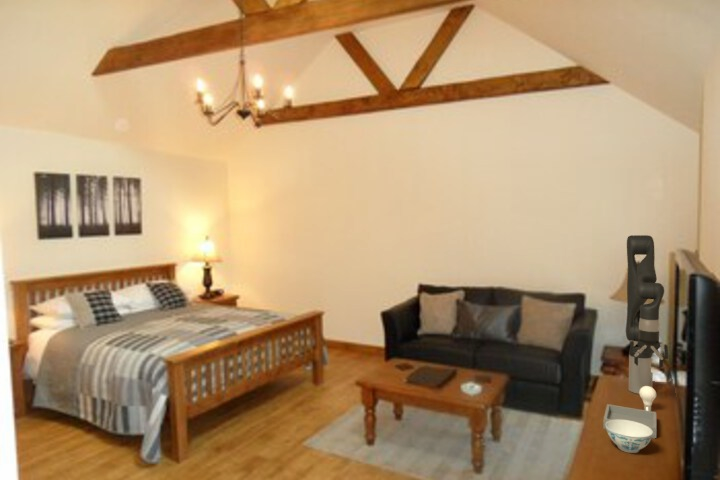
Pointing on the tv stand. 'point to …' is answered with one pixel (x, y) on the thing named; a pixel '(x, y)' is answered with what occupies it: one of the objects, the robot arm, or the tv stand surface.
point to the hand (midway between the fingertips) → (648, 366)
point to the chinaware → (629, 435)
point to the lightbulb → (647, 396)
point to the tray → (631, 416)
